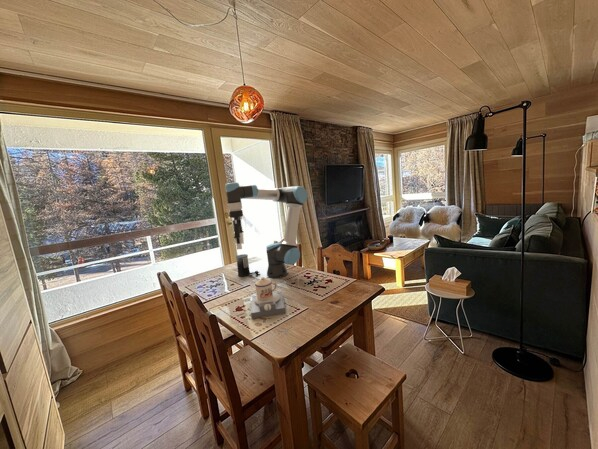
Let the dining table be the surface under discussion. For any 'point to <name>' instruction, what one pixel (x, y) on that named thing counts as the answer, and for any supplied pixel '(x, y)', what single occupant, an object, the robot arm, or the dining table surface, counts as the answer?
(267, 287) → the teacup with lid
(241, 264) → the milk frother
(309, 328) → the dining table surface
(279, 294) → the kitchen scale
